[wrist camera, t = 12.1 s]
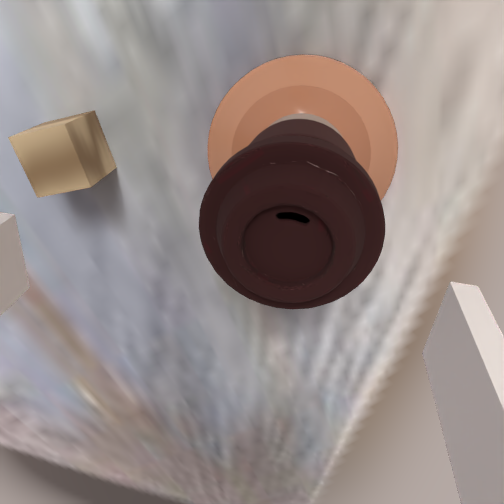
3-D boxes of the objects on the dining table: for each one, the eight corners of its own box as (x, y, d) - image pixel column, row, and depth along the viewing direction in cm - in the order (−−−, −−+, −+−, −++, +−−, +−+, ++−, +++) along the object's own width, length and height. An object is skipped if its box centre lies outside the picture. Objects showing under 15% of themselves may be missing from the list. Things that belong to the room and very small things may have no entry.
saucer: (215, 42, 33) (212, 43, 32) (420, 68, 32) (423, 70, 31) (206, 222, 41) (203, 227, 40) (371, 248, 39) (372, 254, 38)
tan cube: (44, 122, 38) (8, 137, 34) (95, 110, 37) (64, 124, 33) (68, 176, 40) (37, 197, 36) (117, 167, 39) (90, 187, 35)
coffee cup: (301, 237, 39) (289, 355, 26) (214, 159, 36) (153, 247, 23) (392, 157, 34) (433, 252, 21) (300, 63, 32) (283, 105, 19)
